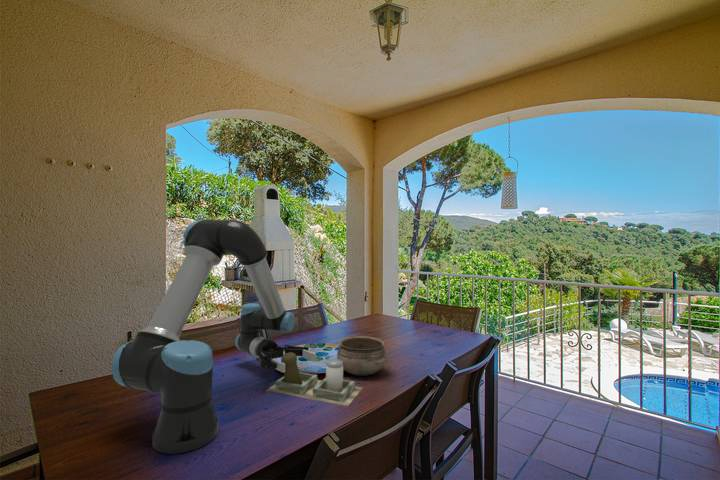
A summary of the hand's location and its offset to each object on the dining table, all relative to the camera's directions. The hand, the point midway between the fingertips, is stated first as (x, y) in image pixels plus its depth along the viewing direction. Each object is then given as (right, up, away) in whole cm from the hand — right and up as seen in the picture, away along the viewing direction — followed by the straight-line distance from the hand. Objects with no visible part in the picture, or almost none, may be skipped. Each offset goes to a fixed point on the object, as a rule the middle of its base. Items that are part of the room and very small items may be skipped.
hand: (300, 362), depth 116 cm
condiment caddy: (+5, -9, -2) cm, 11 cm away
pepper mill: (-2, -8, 0) cm, 8 cm away
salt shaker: (+12, -8, -4) cm, 15 cm away
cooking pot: (+21, -10, +15) cm, 27 cm away
